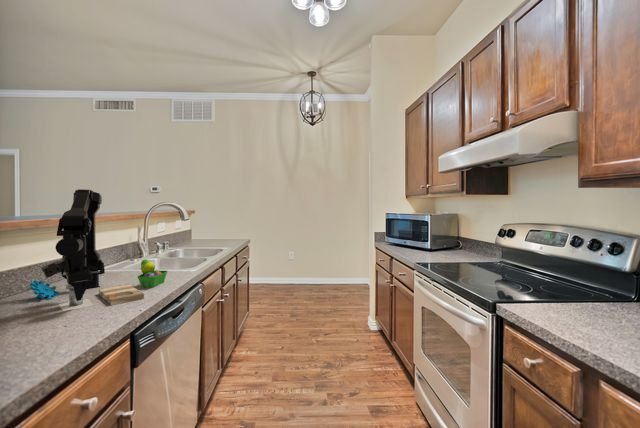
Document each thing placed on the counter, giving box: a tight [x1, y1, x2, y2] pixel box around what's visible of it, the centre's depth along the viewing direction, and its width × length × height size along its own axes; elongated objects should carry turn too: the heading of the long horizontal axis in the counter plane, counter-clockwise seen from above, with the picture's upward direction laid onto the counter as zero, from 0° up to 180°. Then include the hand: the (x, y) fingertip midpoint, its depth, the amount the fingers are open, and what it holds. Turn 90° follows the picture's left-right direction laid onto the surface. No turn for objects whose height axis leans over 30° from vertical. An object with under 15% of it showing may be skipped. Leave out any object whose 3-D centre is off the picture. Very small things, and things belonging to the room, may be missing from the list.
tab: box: [58, 298, 94, 312], centre depth 102 cm, size 10×8×1 cm
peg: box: [65, 283, 84, 306], centre depth 102 cm, size 5×5×7 cm
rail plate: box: [98, 284, 145, 306], centre depth 112 cm, size 18×10×3 cm, turn 47°
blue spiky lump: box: [29, 279, 59, 301], centre depth 109 cm, size 11×6×10 cm
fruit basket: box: [136, 259, 168, 288], centre depth 132 cm, size 11×9×11 cm
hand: (76, 297), depth 102 cm, fingers open, 9 cm apart
